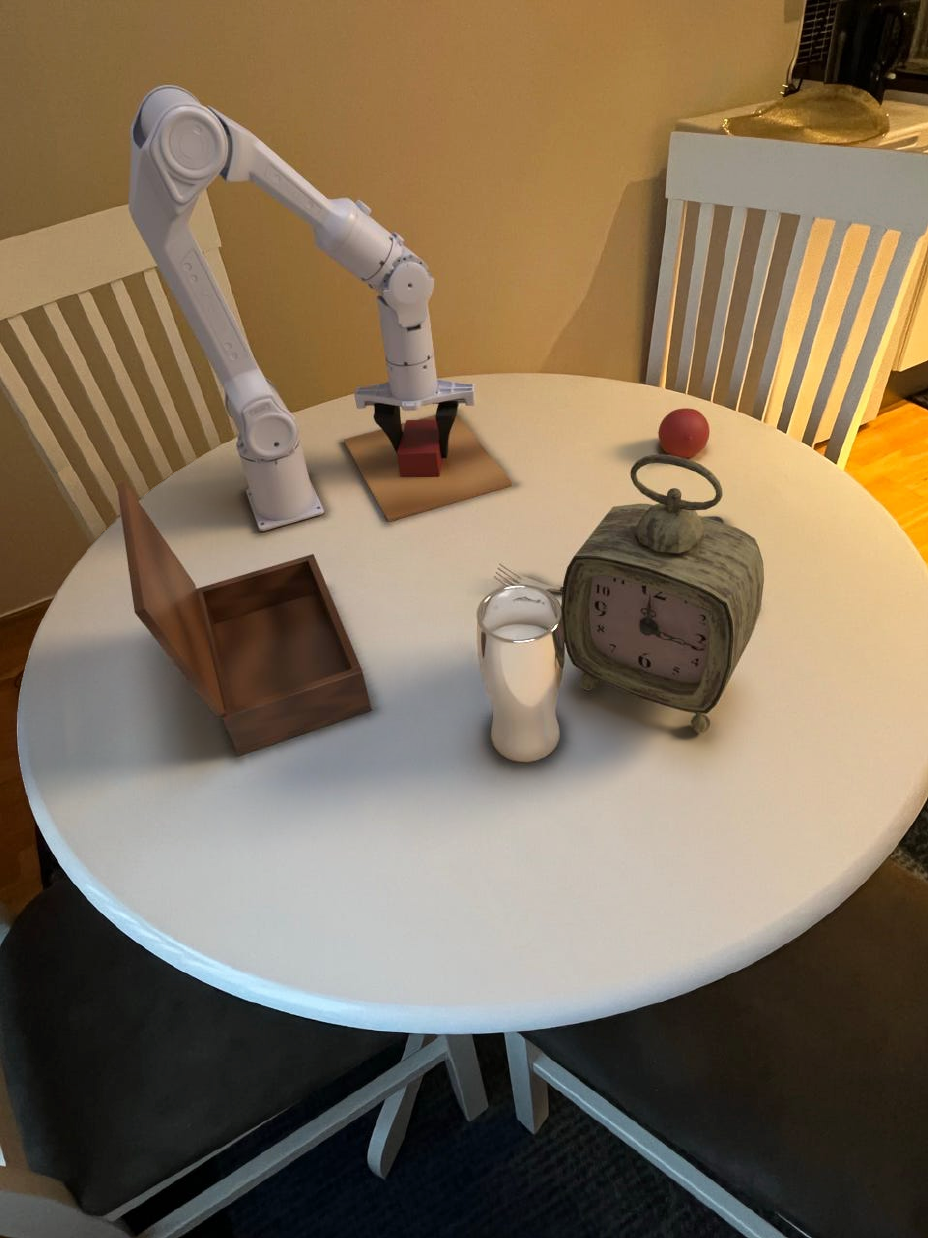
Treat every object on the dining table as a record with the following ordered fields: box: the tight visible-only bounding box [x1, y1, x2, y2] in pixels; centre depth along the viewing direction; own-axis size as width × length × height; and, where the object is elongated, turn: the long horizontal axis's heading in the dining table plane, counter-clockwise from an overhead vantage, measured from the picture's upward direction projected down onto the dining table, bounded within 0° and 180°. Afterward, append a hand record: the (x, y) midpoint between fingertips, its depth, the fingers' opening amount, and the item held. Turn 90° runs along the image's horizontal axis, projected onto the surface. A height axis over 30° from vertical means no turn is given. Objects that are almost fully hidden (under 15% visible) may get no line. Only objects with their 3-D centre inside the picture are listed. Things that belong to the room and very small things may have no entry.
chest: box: [196, 553, 373, 757], centre depth 81 cm, size 13×19×5 cm
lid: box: [116, 481, 225, 717], centre depth 73 cm, size 13×19×1 cm
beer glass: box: [476, 583, 566, 763], centre depth 69 cm, size 7×7×15 cm
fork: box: [493, 563, 563, 593], centre depth 86 cm, size 3×16×2 cm, turn 73°
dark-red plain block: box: [397, 419, 443, 477], centre depth 106 cm, size 5×8×4 cm, turn 174°
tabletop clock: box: [560, 453, 765, 734], centre depth 68 cm, size 14×9×25 cm, turn 58°
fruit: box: [657, 407, 710, 459], centre depth 102 cm, size 6×6×8 cm
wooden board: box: [343, 413, 513, 523], centre depth 107 cm, size 20×16×1 cm
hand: (423, 454), depth 106 cm, fingers closed on dark-red plain block, 5 cm apart
